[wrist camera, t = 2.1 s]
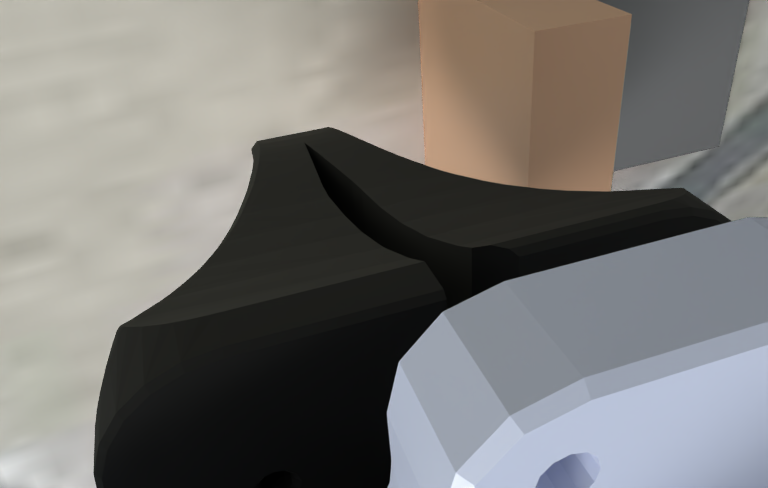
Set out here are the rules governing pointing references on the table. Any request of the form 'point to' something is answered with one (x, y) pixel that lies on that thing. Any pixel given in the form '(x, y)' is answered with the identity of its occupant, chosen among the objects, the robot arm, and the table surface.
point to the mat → (676, 76)
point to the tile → (523, 90)
